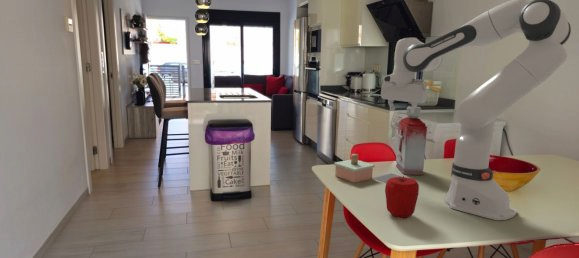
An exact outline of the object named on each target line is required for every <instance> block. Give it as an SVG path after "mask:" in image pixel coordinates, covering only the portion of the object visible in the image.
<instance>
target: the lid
mask: <svg viewBox="0 0 579 258" xmlns="http://www.w3.org/2000/svg"><path fill="white" fill-rule="evenodd" d="M350 156H351V158H350V159H347V160H342V161H341V160H340V161H337V162H336V161H335V162H334V164H333V166H335V167H336V166H338V167H341V168H344V169H347V170H351V171H354V172H357V171H361V170H365V169H370V168H373V169H374V168H375V166H376V165H375V164H372V163H368V162H367V161H362V160H359V154H357V153H351V155H350Z"/></svg>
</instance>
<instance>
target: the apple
mask: <svg viewBox="0 0 579 258" xmlns="http://www.w3.org/2000/svg"><path fill="white" fill-rule="evenodd" d="M419 189H420V184H419V183H418V181H417V180H416V179H414V178H411V177H407V176H406V177H405V175H402V177H393V178H390V179H389V180H388V181H387V182H386V183H385V188H384V191H385V202H386V210H387V212H389V213H390V214H391V216H393V217H394V218H398V219H408V218H410V217H411V216H412V215H413V214H414V213H415V211H416V207H417V201H418V197H419V192H420V190H419Z"/></svg>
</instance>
